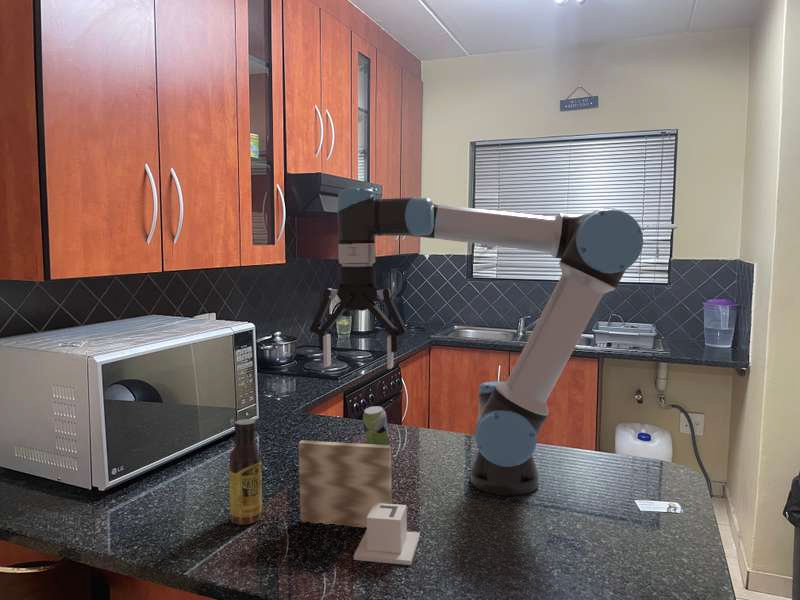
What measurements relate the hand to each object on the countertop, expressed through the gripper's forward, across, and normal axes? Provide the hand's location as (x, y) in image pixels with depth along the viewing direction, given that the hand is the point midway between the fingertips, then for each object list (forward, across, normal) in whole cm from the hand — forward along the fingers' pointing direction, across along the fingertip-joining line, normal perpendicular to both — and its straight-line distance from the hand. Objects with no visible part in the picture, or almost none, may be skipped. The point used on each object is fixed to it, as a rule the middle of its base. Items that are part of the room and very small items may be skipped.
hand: (358, 366), depth 125 cm
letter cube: (+28, +10, -19) cm, 35 cm away
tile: (+29, +10, -19) cm, 36 cm away
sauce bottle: (+29, -20, -13) cm, 37 cm away
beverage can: (+29, -3, +28) cm, 40 cm away
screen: (+29, 0, -9) cm, 30 cm away
